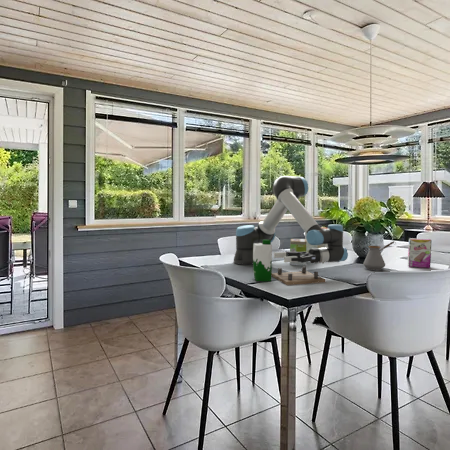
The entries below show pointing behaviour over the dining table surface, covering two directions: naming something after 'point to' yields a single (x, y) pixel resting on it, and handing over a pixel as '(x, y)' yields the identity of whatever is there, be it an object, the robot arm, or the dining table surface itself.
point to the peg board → (298, 277)
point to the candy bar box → (419, 253)
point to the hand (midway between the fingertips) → (279, 257)
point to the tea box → (298, 248)
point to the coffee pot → (375, 258)
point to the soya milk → (262, 261)
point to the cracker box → (315, 245)
